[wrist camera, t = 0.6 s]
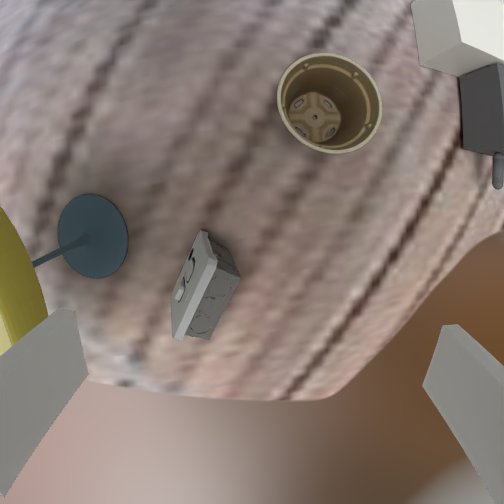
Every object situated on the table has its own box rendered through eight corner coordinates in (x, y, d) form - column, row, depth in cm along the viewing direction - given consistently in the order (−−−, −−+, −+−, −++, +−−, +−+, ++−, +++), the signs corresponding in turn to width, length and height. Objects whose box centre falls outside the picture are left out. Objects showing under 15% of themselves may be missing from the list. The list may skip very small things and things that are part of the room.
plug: (453, 40, 27) (488, 21, 19) (484, 53, 27) (519, 39, 19) (462, 183, 32) (503, 189, 24) (492, 189, 32) (532, 196, 24)
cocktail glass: (184, 263, 36) (82, 406, 12) (85, 323, 39) (-21, 438, 15) (109, 135, 33) (-64, 114, 8) (22, 216, 35) (-118, 264, 11)
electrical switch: (200, 227, 35) (191, 250, 27) (241, 245, 36) (245, 274, 28) (170, 295, 38) (155, 334, 29) (209, 311, 39) (204, 354, 30)
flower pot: (286, 67, 31) (295, 37, 22) (363, 97, 31) (393, 78, 23) (260, 141, 33) (262, 131, 24) (340, 170, 33) (365, 170, 25)
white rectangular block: (410, 4, 27) (444, -28, 17) (502, 42, 27) (541, 27, 17) (419, 65, 30) (461, 41, 20) (511, 98, 29) (555, 91, 20)
